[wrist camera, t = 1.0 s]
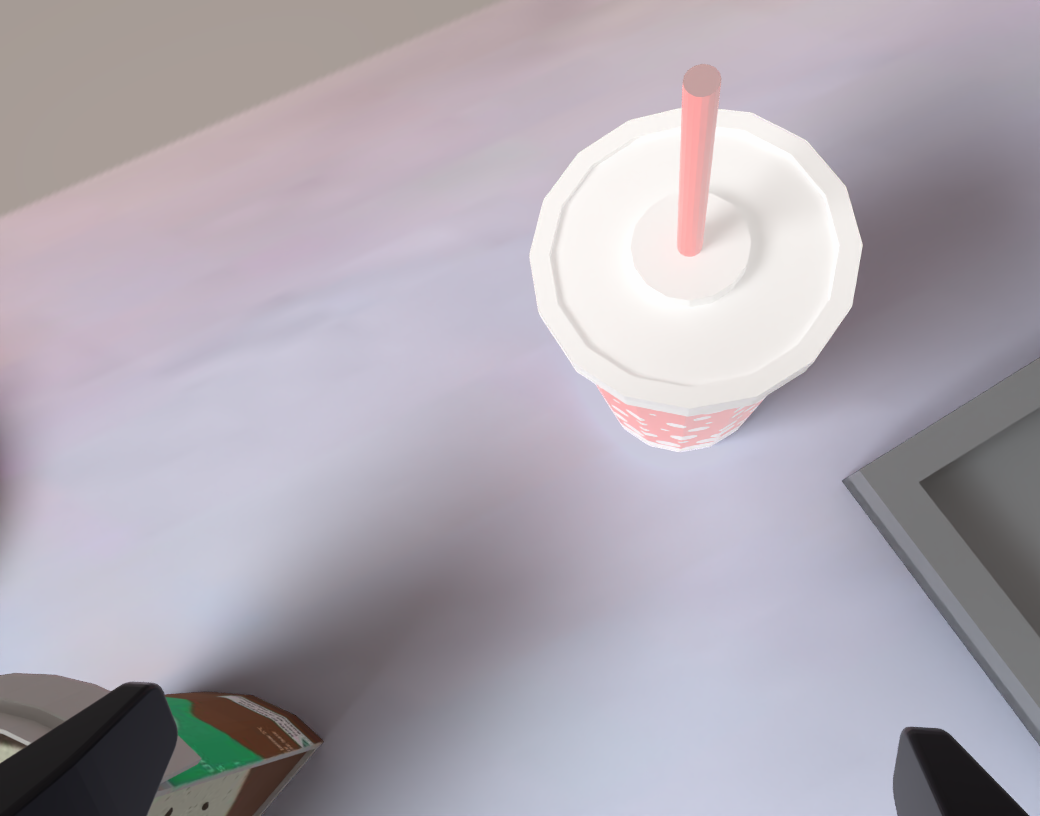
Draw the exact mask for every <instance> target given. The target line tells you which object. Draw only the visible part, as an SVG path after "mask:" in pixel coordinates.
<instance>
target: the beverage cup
mask: <svg viewBox="0 0 1040 816" xmlns="http://www.w3.org/2000/svg"><path fill="white" fill-rule="evenodd" d="M720 87H721V76H720V73H719V71H718V70H717V69H716V68H715V67H713V66H711V65H706V64H700V65H696V66H694V67H692V68H691V69H689V70H688V71H687V72H686V74H685V75H684V79H683V89H682V108H679V109H674V110H670V111H666V112H662V113H657V114H653V115H649V116H645V117H641V118H636V119H632V120H629V121H627V122H626V123H624V124H623V125H621V126H619V127H618V128H616V129H615V130H613V131H612V132H610V133H609V134H607V135H605V136H604V137H602V138H601V139H599V140H598V141H596V142H595V143H593V144H592V145H590V146H588V147H587V148H585V149H584V150H582V151H581V152H579V153H578V154H577V156H576V157H575V158H574V160H573V161H572V162H571V164H570V165H569V166H568V168H567V169H566V170H565V172H564V173H563V174H562V176H561V177H560V178H559V180H558V181H557V182H556V184H555V185H554V186H553V188H552V189H551V190H550V192H549V193H548V194H547V196H546V197H545V198H544V200H543V204H542V208H541V211H540V215H539V219H538V223H537V227H536V231H535V235H534V238H533V242H532V246H531V250H530V254H529V257H530V263H531V269H532V276H533V282H534V288H535V294H536V300H537V306H538V312H539V314H540V316H541V318H542V319H543V321H544V323H545V324H546V326H547V327H548V329H549V330H550V332H551V333H552V335H553V336H554V338H555V339H556V341H557V342H558V344H559V345H560V347H561V348H562V350H563V352H564V353H565V355H566V356H567V358H568V359H569V361H570V362H571V364H572V365H573V367H574V368H575V370H576V371H577V372H578V373H580V374H581V375H583V376H584V377H586V378H587V379H589V380H590V381H592V382H593V383H595V384H596V385H597V387H598V389H599V390H600V392H601V394H602V395H603V397H604V399H605V400H606V402H607V404H608V405H609V407H610V408H611V410H612V411H613V413H614V414H615V416H616V417H617V419H618V420H619V422H620V423H621V425H622V426H623V428H624V429H625V430H626V431H628V432H629V433H631V434H632V435H634V436H635V437H637V438H638V439H640V440H641V441H643V442H644V443H646V444H647V445H649V446H652V447H657V448H662V449H667V450H671V451H676V452H684V451H690V450H696V449H701V448H707V447H711V446H713V445H714V444H716V443H718V442H719V441H721V440H722V439H724V438H726V437H727V436H729V435H730V434H732V433H734V432H735V431H737V430H738V429H739V427H740V426H741V425H742V424H743V423H744V422H745V420H746V419H747V418H748V417H749V416H750V415H751V414H752V412H753V411H754V410H755V409H756V408H757V407H758V405H759V404H760V403H761V402H762V401H763V400H764V399H765V397H766V396H767V395H769V394H770V393H772V392H773V391H775V390H777V389H778V388H780V387H781V386H783V385H785V384H786V383H788V382H789V381H791V380H793V379H794V378H796V377H797V376H799V375H800V374H802V373H804V372H805V371H806V370H807V369H808V367H809V366H811V365H812V364H813V362H814V361H815V359H816V358H817V357H818V355H819V354H820V352H821V351H822V349H823V348H824V346H825V345H826V344H827V342H828V341H829V339H830V338H831V336H832V335H833V333H834V332H835V331H836V329H837V328H838V326H839V325H840V323H841V322H842V321H843V319H844V318H845V316H846V315H847V313H848V312H849V310H850V309H851V307H852V304H853V298H854V293H855V287H856V281H857V275H858V270H859V264H860V258H861V252H862V247H863V244H862V240H861V237H860V233H859V230H858V226H857V223H856V219H855V216H854V212H853V209H852V205H851V202H850V198H849V195H848V191H847V188H846V186H845V185H844V183H843V182H842V181H841V180H840V179H839V178H838V176H837V175H836V174H835V173H834V172H833V171H832V169H831V168H830V167H829V166H828V165H827V164H826V162H825V161H824V160H823V159H822V158H821V157H820V155H819V154H818V153H817V152H816V151H815V150H814V148H813V147H812V146H811V145H810V144H809V143H808V141H807V140H805V139H803V138H801V137H799V136H797V135H795V134H793V133H791V132H789V131H787V130H785V129H783V128H781V127H779V126H777V125H775V124H773V123H771V122H769V121H767V120H765V119H763V118H761V117H759V116H757V115H755V114H753V113H751V112H741V111H732V110H723V109H718V105H719V96H720Z"/></svg>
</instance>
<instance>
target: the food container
mask: <svg viewBox="0 0 1040 816" xmlns="http://www.w3.org/2000/svg"><path fill="white" fill-rule="evenodd" d="M110 692H111V691H109V690H106V689H104V688H102V687H100V686H98V685H95V684H92V683H87V682H83V681H79V680H75V679H71V678H66V677H62V676H58V675H47V674H22V673H12V674H5V675H0V763H1V762H3V761H4V760H6V759H7V758H9V757H10V756H12V755H14V754H15V753H17V752H18V751H20V750H21V749H23V748H24V747H26V746H27V745H29V744H31V743H32V742H34V741H35V740H37V739H38V738H40V737H41V736H43V735H45V734H46V733H48V732H49V731H51V730H52V729H54V728H55V727H57V726H58V725H60V724H62V723H63V722H65V721H66V720H68V719H69V718H71V717H72V716H74V715H75V714H77V713H79V712H80V711H82V710H83V709H85V708H86V707H88V706H89V705H91V704H93V703H94V702H96V701H97V700H99V699H100V698H102V697H103V696H105V695H106V694H108V693H110ZM165 697H166V699H167V702H168V704H169V707H170V710H171V712H172V715H173V717H174V720H175V722H176V725H177V729H178V737H177V743H176V747H175V750H174V752H173V755H172V757H171V759H170V762H169V764H168V767H167V769H166V771H165V774H164V776H163V779H162V781H161V783H160V786H159V788H158V791H157V793H156V795H155V798H154V800H153V803H152V805H151V808H150V810H149V812H148V815H147V816H261V815H262V814H263V813H264V811H265V810H266V809H267V808H268V807H269V805H270V804H271V803H272V802H273V801H274V800H275V798H276V797H277V796H278V795H279V794H280V793H281V791H282V790H283V789H284V788H285V787H286V785H287V784H288V783H289V782H290V781H291V780H292V778H293V777H294V776H295V775H296V774H297V772H298V771H299V770H300V769H301V768H302V767H303V765H304V764H305V763H306V762H307V761H308V760H309V758H310V757H311V756H312V755H313V754H314V752H315V751H316V750H317V749H318V748H319V747H320V745H321V744H322V743H323V742H324V741H323V740H322V739H321V738H320V737H319V736H318V735H317V734H315V733H314V732H313V731H312V730H311V729H310V728H309V727H308V726H307V725H306V724H305V723H304V722H302V721H301V720H300V719H299V718H298V717H297V716H296V715H294V714H292V713H290V712H287V711H285V710H283V709H281V708H279V707H277V706H275V705H272V704H270V703H268V702H266V701H264V700H262V699H260V698H258V697H255V696H253V695H244V694H232V693H219V692H194V693H180V694H166V695H165Z"/></svg>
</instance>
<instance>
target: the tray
mask: <svg viewBox="0 0 1040 816" xmlns="http://www.w3.org/2000/svg"><path fill="white" fill-rule="evenodd" d="M842 482H843V483H844V484H845V486H846V487H847V489H848V490H849V491H850V493H851V494H852V495H853V497H854V498H855V499H856V501H857V502H858V503H859V505H860V506H861V507H862V509H863V510H864V511H865V513H866V514H867V515H868V517H869V518H870V519H871V521H872V522H873V523H874V525H875V526H876V527H877V529H878V530H879V531H880V533H881V534H882V535H883V537H884V538H885V539H886V541H887V542H888V543H889V545H890V546H891V547H892V549H893V550H894V551H895V553H896V554H897V555H898V557H899V558H900V559H901V561H902V562H903V563H904V565H905V566H906V568H907V569H908V570H909V572H910V573H911V574H912V576H913V577H914V578H915V580H916V581H917V582H918V584H919V585H920V586H921V588H922V589H923V590H924V592H925V593H926V594H927V596H928V597H929V598H930V600H931V601H932V602H933V604H934V605H935V606H936V608H937V609H938V610H939V612H940V613H941V614H942V616H943V617H944V618H945V620H946V621H947V622H948V624H949V625H950V626H951V628H952V629H953V630H954V632H955V633H956V634H957V636H958V637H959V638H960V640H961V641H962V642H963V644H964V645H965V647H966V648H967V649H968V651H969V652H970V653H971V655H972V656H973V657H974V659H975V660H976V661H977V663H978V664H979V665H980V667H981V668H982V669H983V671H984V672H985V673H986V675H987V676H988V677H989V679H990V680H991V681H992V683H993V684H994V685H995V687H996V688H997V689H998V691H999V692H1000V693H1001V695H1002V696H1003V697H1004V699H1005V700H1006V701H1007V703H1008V704H1009V705H1010V707H1011V708H1012V709H1013V711H1014V712H1015V713H1016V715H1017V716H1018V717H1019V719H1020V720H1021V721H1022V723H1023V724H1024V726H1025V727H1026V728H1027V730H1028V731H1029V732H1030V734H1031V735H1032V736H1033V738H1034V739H1035V740H1036V742H1037V743H1038V744H1039V746H1040V358H1038V359H1037V360H1035V361H1033V362H1032V363H1030V364H1029V365H1027V366H1025V367H1024V368H1022V369H1021V370H1019V371H1017V372H1016V373H1014V374H1013V375H1011V376H1009V377H1008V378H1006V379H1004V380H1003V381H1001V382H1000V383H998V384H996V385H995V386H993V387H992V388H990V389H988V390H987V391H985V392H984V393H982V394H980V395H979V396H977V397H976V398H974V399H972V400H971V401H969V402H968V403H966V404H964V405H963V406H961V407H960V408H958V409H956V410H955V411H953V412H952V413H950V414H948V415H947V416H945V417H944V418H942V419H940V420H939V421H937V422H936V423H934V424H932V425H931V426H929V427H928V428H926V429H924V430H923V431H921V432H920V433H918V434H916V435H915V436H913V437H911V438H910V439H908V440H907V441H905V442H903V443H902V444H900V445H899V446H897V447H895V448H894V449H892V450H891V451H889V452H887V453H886V454H884V455H883V456H881V457H879V458H878V459H876V460H875V461H873V462H871V463H870V464H868V465H867V466H865V467H863V468H862V469H860V470H859V471H857V472H855V473H854V474H852V475H851V476H849V477H847V478H846V479H844V480H843V481H842Z"/></svg>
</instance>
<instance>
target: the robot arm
mask: <svg viewBox="0 0 1040 816" xmlns="http://www.w3.org/2000/svg"><path fill="white" fill-rule="evenodd" d="M177 737H178V729H177V725H176V722H175V720H174V717H173V715H172V712H171V710H170V707H169V704H168V702H167V699H166V697H165V694H164V692H163V690H162V688H161V687H160V686H159V685H157V684H155V683H147V682H127V683H125V684H122V685H121V686H119V687H117V688H116V689H114V690H113V691H111V692H110V693H108V694H106V695H105V696H103V697H102V698H100V699H99V700H97V701H96V702H94V703H93V704H91V705H89V706H88V707H86V708H85V709H83V710H82V711H80V712H79V713H77V714H75V715H74V716H72V717H71V718H69V719H68V720H66V721H65V722H63V723H62V724H60V725H58V726H57V727H55V728H54V729H52V730H51V731H49V732H48V733H46V734H45V735H43V736H41V737H40V738H38V739H37V740H35V741H34V742H32V743H31V744H29V745H27V746H26V747H24V748H23V749H21V750H20V751H18V752H17V753H15V754H14V755H12V756H10V757H9V758H7V759H6V760H4V761H3V762H1V763H0V816H147V815H148V812H149V810H150V808H151V805H152V803H153V800H154V798H155V795H156V793H157V791H158V788H159V786H160V783H161V781H162V779H163V776H164V774H165V771H166V769H167V767H168V764H169V762H170V759H171V757H172V755H173V752H174V750H175V747H176V743H177ZM893 793H894V800H895V806H896V810H897V815H898V816H1029V815H1028V814H1027V813H1026V812H1025V811H1024V810H1023V809H1022V808H1021V807H1020V806H1019V805H1018V804H1017V803H1016V802H1015V801H1014V799H1013V798H1012V797H1011V796H1010V795H1009V794H1008V793H1007V792H1006V791H1005V790H1004V789H1003V788H1002V787H1001V786H1000V785H999V784H998V783H997V782H996V781H995V780H994V779H993V778H992V777H991V776H990V775H989V774H988V773H987V772H986V771H985V770H984V769H983V768H982V767H981V766H980V765H979V764H978V763H977V762H976V761H975V759H974V758H973V757H972V756H971V755H970V754H969V753H968V752H967V751H966V750H965V749H964V748H963V747H962V746H961V745H960V744H959V743H958V742H957V741H956V740H955V739H954V738H953V737H952V736H951V735H950V734H949V733H947V732H946V731H944V730H942V729H938V728H923V727H906V728H905V729H903V731H902V733H901V735H900V740H899V746H898V752H897V758H896V764H895V770H894V776H893Z"/></svg>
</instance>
